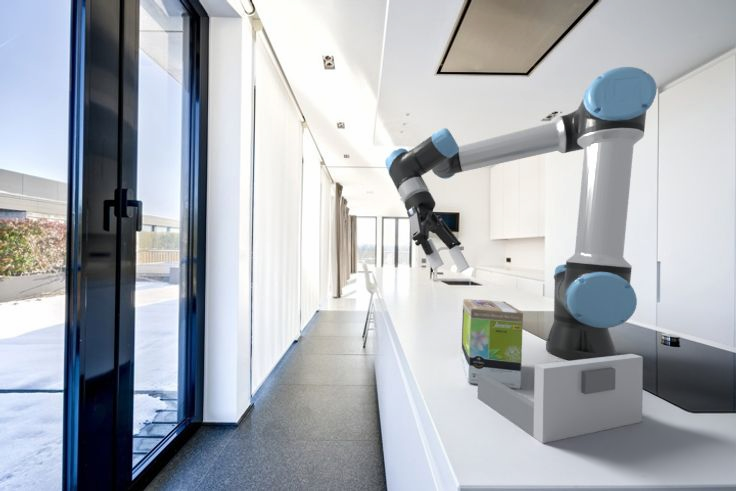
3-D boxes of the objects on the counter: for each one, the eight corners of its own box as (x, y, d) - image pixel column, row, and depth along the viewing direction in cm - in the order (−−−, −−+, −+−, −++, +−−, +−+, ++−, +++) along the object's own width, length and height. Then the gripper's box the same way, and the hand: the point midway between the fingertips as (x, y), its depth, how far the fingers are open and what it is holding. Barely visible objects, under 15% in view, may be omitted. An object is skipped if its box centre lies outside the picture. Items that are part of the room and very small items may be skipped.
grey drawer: (563, 385, 61) (563, 334, 62) (646, 423, 48) (647, 358, 48) (477, 398, 55) (478, 340, 55) (546, 446, 42) (547, 370, 42)
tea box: (523, 390, 59) (524, 311, 59) (467, 384, 61) (468, 308, 61) (504, 363, 74) (506, 299, 74) (460, 358, 76) (461, 297, 76)
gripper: (430, 215, 95) (462, 277, 86) (377, 197, 76) (411, 274, 68) (450, 200, 91) (485, 263, 82) (399, 177, 72) (438, 256, 64)
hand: (452, 268), depth 75 cm, fingers open, 13 cm apart
